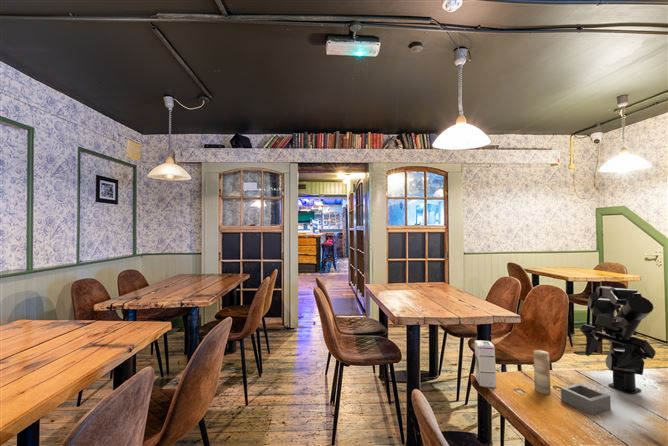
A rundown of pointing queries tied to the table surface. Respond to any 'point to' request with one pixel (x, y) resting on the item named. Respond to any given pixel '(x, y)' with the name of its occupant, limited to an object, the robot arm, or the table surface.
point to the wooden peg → (542, 371)
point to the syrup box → (485, 363)
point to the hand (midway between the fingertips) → (601, 360)
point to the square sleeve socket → (586, 398)
